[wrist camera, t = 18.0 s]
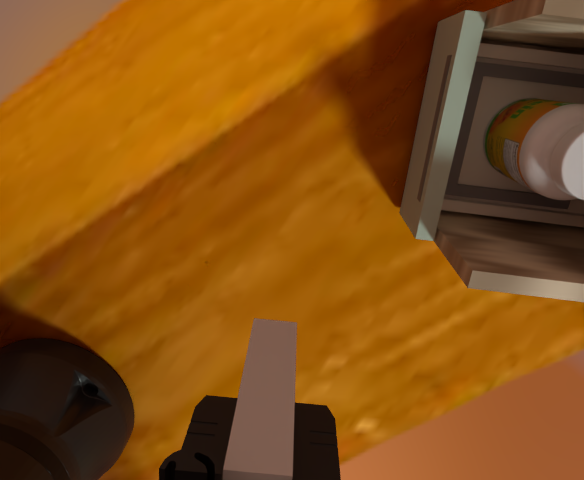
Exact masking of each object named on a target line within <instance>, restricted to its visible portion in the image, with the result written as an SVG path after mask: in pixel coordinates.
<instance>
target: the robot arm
mask: <svg viewBox="0 0 584 480" xmlns="http://www.w3.org/2000/svg"><path fill="white" fill-rule="evenodd" d="M296 335H297V323H296V322H286V321H276V320H266V319H255V318H254V322H253V327H252V331H251V336H250V341H249V346H248V351H247V356H246V361H245V365H244V370H243V375H242V380H241V385H240V390H239V395H238V398H229V397H218V396H208V395H206V396H205V397H204V398H203V399H202V400H201V401H200V402H199V403H198V405H197V406H196V407H195V409H194V412H193V415H192V418H191V423H190V425H189V428H188V431H187V435H186V437H185V440H184V443H183V446H182V449H181V450H179V451H177V452H174V453H173V454H171V455H170V456H169V457H167V458H166V459H165V460H164V462H163V463H162V465H161V466H160V468H159V480H341V479H340V468H339V457H338V448H337V436H336V424H335V418H334V416H333V415H332V413H331V412H330V410H329V408H328V407H327V406H325V405H314V404H304V403H295V371H296ZM133 426H134V408H133V403H132V400H131V397H130V394H129V392H128V390H127V388H126V386H125V385H124V383H123V381H122V380H121V379H120V377H119V376H118V375H117V374H116V373H115V371H114V370H113V369H112V368H111V367H110V366H109V365H107V364H106V363H105V362H104V361H103V360H101V359H100V358H98V357H97V356H95V355H94V354H92V353H90V352H89V351H87V350H85V349H83V348H81V347H78V346H76V345H73V344H70V343H67V342H63V341H58V340H53V339H27V340H21V341H18V342H14V343H11V344H9V345H7V346H5V347H3V348H1V349H0V480H98V479H99V478H100V477H101V476H102V475H103V474H104V473H105V472H107V471H108V470H109V469H110V468H111V467H112V466H113V465H114V464H115V462H116V461H117V460H118V458H119V457H120V455H121V453H122V452H123V450H124V448H125V446H126V444H127V442H128V440H129V438H130V436H131V433H132V430H133Z"/></svg>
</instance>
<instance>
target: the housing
mask: <svg viewBox="0 0 584 480" xmlns="http://www.w3.org/2000/svg"><path fill="white" fill-rule="evenodd" d="M485 12H487V15H486V19H485V24H484V28H483V32H482V37H481V41H480V43H486V44H494V45H502V46H511V47H519V48H527V49H536V50H544V51H552V52H561V53H569V54H577V55H584V0H515V1H512V2H509V3H507V4H504V5H501V6H498V7H496V8H493V9H490V10H488V11H485ZM434 242H435V243H436V245H437V246H438V247H439V249H440V250H441V251H442V253H443V254H444V256H445V257H446V258H447V260H448V261H449V263H450V264H451V265H452V267H453V268H454V269H455V271H456V272H457V274H458V275H459V276H460V278H461V279H462V280H463V282H464V283H465V285H466V286H467V287H468V288H473V289H481V290H489V291H498V292H506V293H514V294H522V295H530V296H538V297H547V298H555V299H563V300H571V301H579V302H584V227H577V226H568V225H560V224H552V223H544V222H535V221H527V220H519V219H511V218H503V217H494V216H486V215H478V214H470V213H461V212H453V211H445V210H441V212H440V216H439V221H438V225H437V229H436V233H435V238H434Z"/></svg>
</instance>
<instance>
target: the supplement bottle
mask: <svg viewBox="0 0 584 480" xmlns="http://www.w3.org/2000/svg"><path fill="white" fill-rule="evenodd" d="M483 148H484V154H485V156H486V159H487V160H488V162H489V164H490V165H491V166H492V167H493V168H494V169H495V170H496V171H498V172H499V173H501V174H502V175H504V176H506V177H508V178H510V179H512V180H514V181H515V182H517V183H519V184H521V185H523V186H525V187H527V188H529V189H531V190H533V191H534V192H536V193H538V194H540V195H542V196H545V197H547V198H551V199H555V200H574V199H581V200H584V104H580V103H570V102H560V101H552V100H544V99H536V98H526V99H520V100H516V101H513V102H511V103H509V104H507V105H506V106H504V107H503V108H501V109H500V110H499V111H498V112H497V113H496V114H495V115H494V116H493V117H492V119H491V120H490V122H489V123H488V125H487V127H486V130H485V133H484V139H483Z"/></svg>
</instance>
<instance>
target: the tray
mask: <svg viewBox="0 0 584 480" xmlns="http://www.w3.org/2000/svg"><path fill="white" fill-rule="evenodd" d="M486 15H487V12H478V11H470V10H464V11H462V12H460V13H457V14H455V15H453V16H450V17H448V18H446V19H443V20H441V21H439V22H438V25H437V30H436V35H435V40H434V45H433V50H432V55H431V60H430V65H429V70H428V74H427V79H426V84H425V89H424V94H423V99H422V104H421V109H420V114H419V119H418V124H417V129H416V134H415V139H414V144H413V149H412V154H411V159H410V164H409V169H408V173H407V178H406V183H405V188H404V193H403V198H402V203H401V208H400V214H401V216H402V218H403V219H404V221H405V222H406V224H407V226H408V227H409V229H410V231H411V232H412V234H413V235H414V237H415V239H422V240H430V241H434V238H435V233H436V229H437V225H438V221H439V216H440V212H441V210H445V211H453V212H461V213H470V214H478V215H486V216H494V217H503V218H511V219H519V220H527V221H535V222H544V223H552V224H560V225H568V226H577V227H584V200H581V199H574V200H555V199H551V198H547V197H545V196H542V195H540V194H538V193H536V192H534V191H533V190H531V189H529V188H527V187H525V186H523V185H521V184H519V183H517V182H515V181H514V180H512V179H510V178H508V177H506V176H504V175H502V174H501V173H499V172H498V171H496V170H495V169H494V168H493V167H492V166H491V165H490V164H489V162H488V160H487V159H486V156H485V154H484V148H483V139H484V133H485V130H486V127H487V125H488V123H489V122H490V120H491V119H492V117H493V116H494V115H495V114H496V113H497V112H498V111H499V110H500V109H501V108H503V107H504V106H506V105H507V104H509V103H511V102H513V101H516V100H520V99H526V98H536V99H544V100H552V101H560V102H570V103H580V104H584V55H577V54H569V53H561V52H552V51H544V50H536V49H527V48H519V47H511V46H502V45H494V44H486V43H480V41H481V37H482V32H483V28H484V24H485V19H486Z"/></svg>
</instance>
